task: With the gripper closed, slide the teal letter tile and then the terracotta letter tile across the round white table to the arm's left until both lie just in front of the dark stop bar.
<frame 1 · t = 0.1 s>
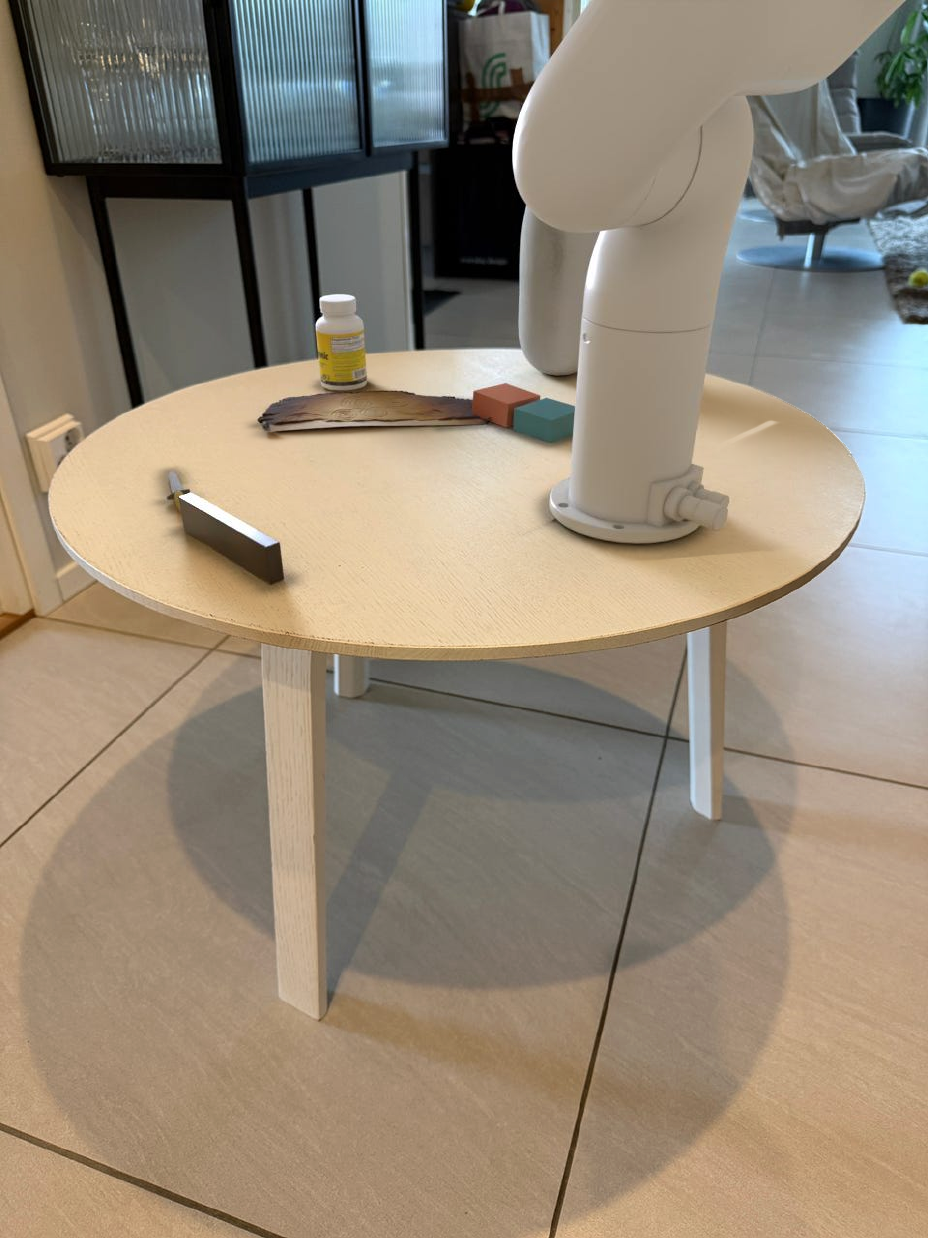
dagger: (177, 495, 75), on the table
supplement bottle: (344, 386, 102), on the table
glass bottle: (557, 374, 107), on the table
tile a: (547, 432, 89), on the table
tile b: (504, 416, 92), on the table, touching parchment
stop bar: (231, 554, 65), on the table
parchment: (378, 415, 93), on the table, touching tile b
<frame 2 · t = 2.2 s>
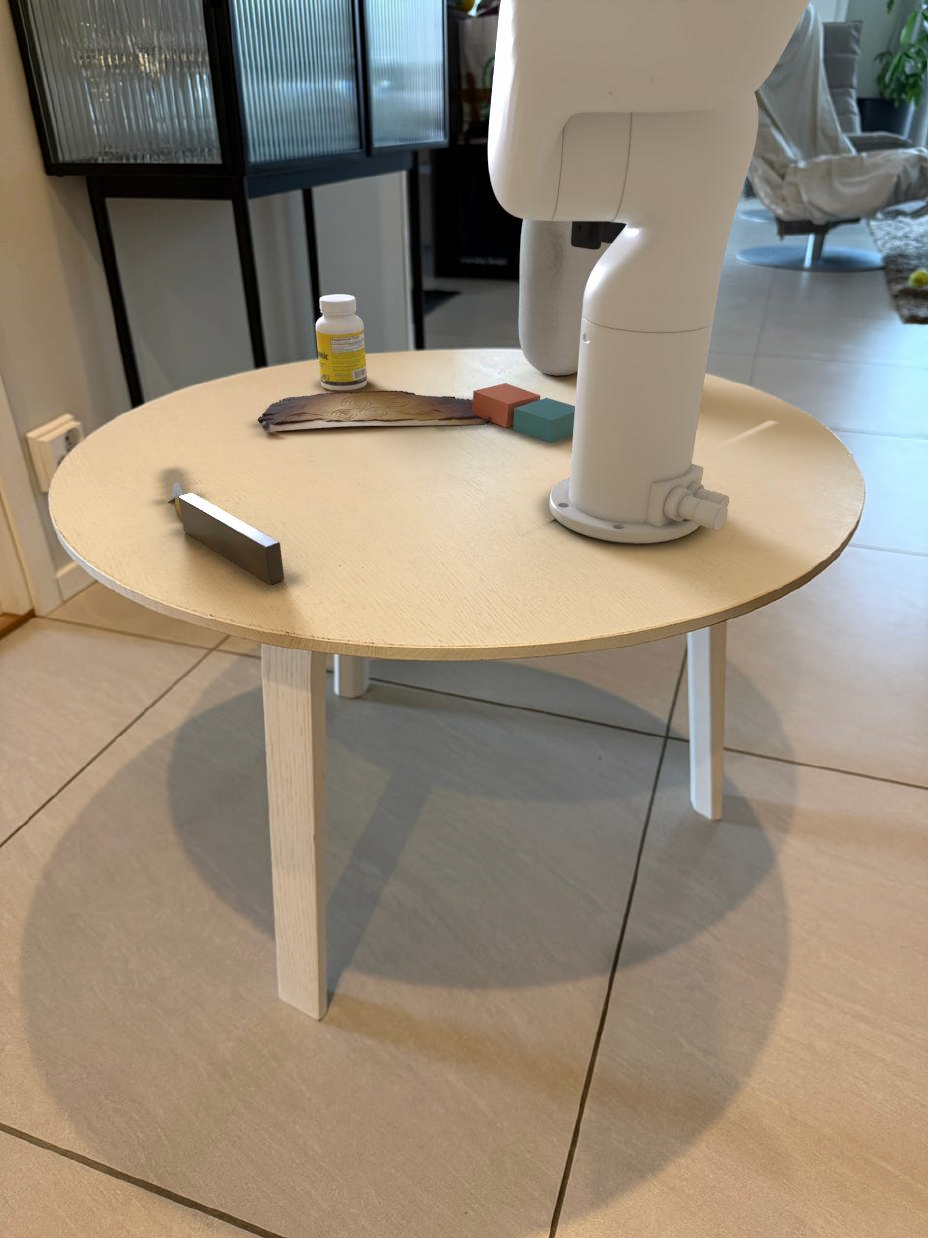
hand: (599, 243, 83), 17 cm above the table, tool pointing down, fingers open, 3 cm apart
nothing on the table moved.
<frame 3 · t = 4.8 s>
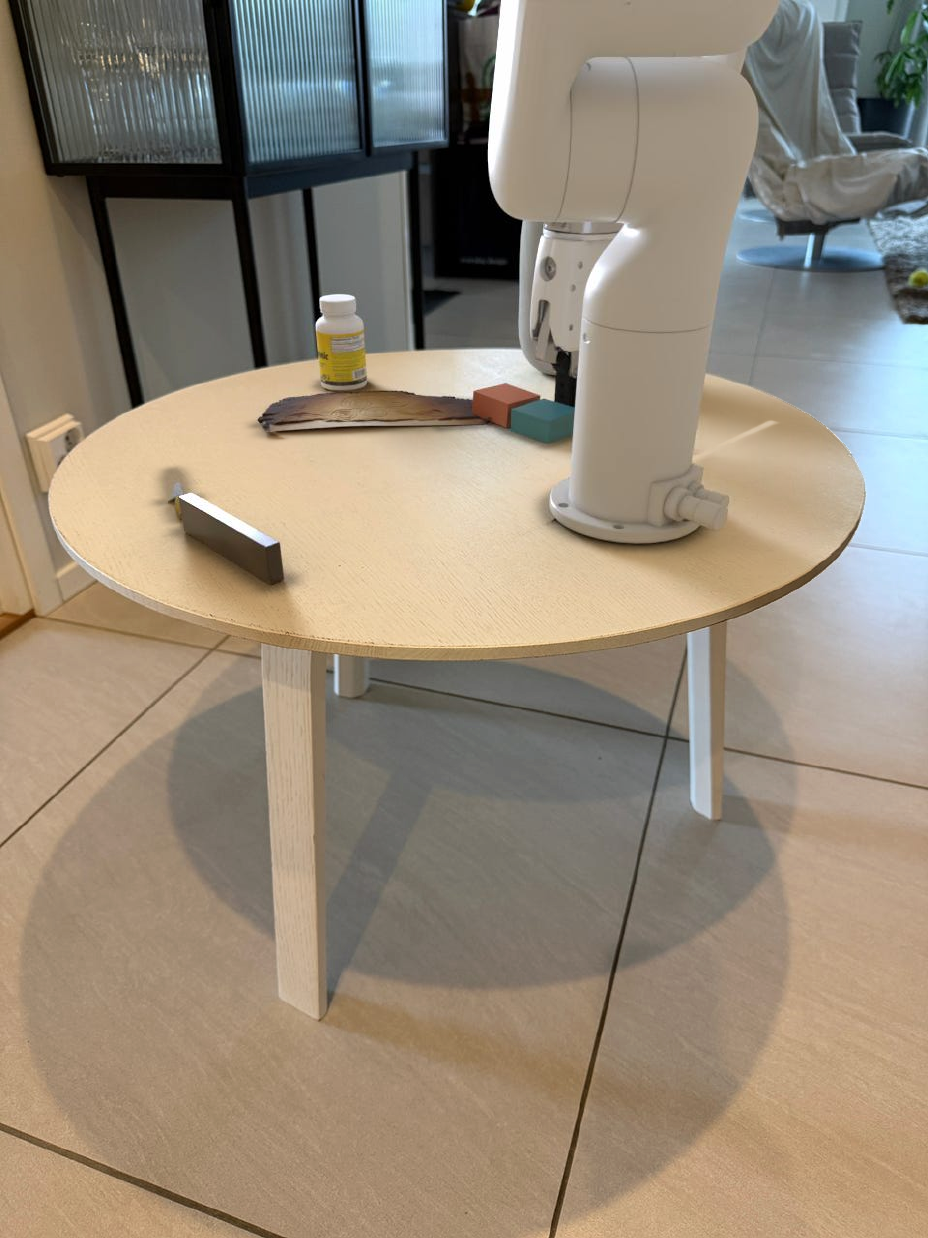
hand: (570, 410, 90), 1 cm above the table, tool pointing down, fingers closed
tile a: (545, 433, 88), on the table, touching gripper
everything else where it was.
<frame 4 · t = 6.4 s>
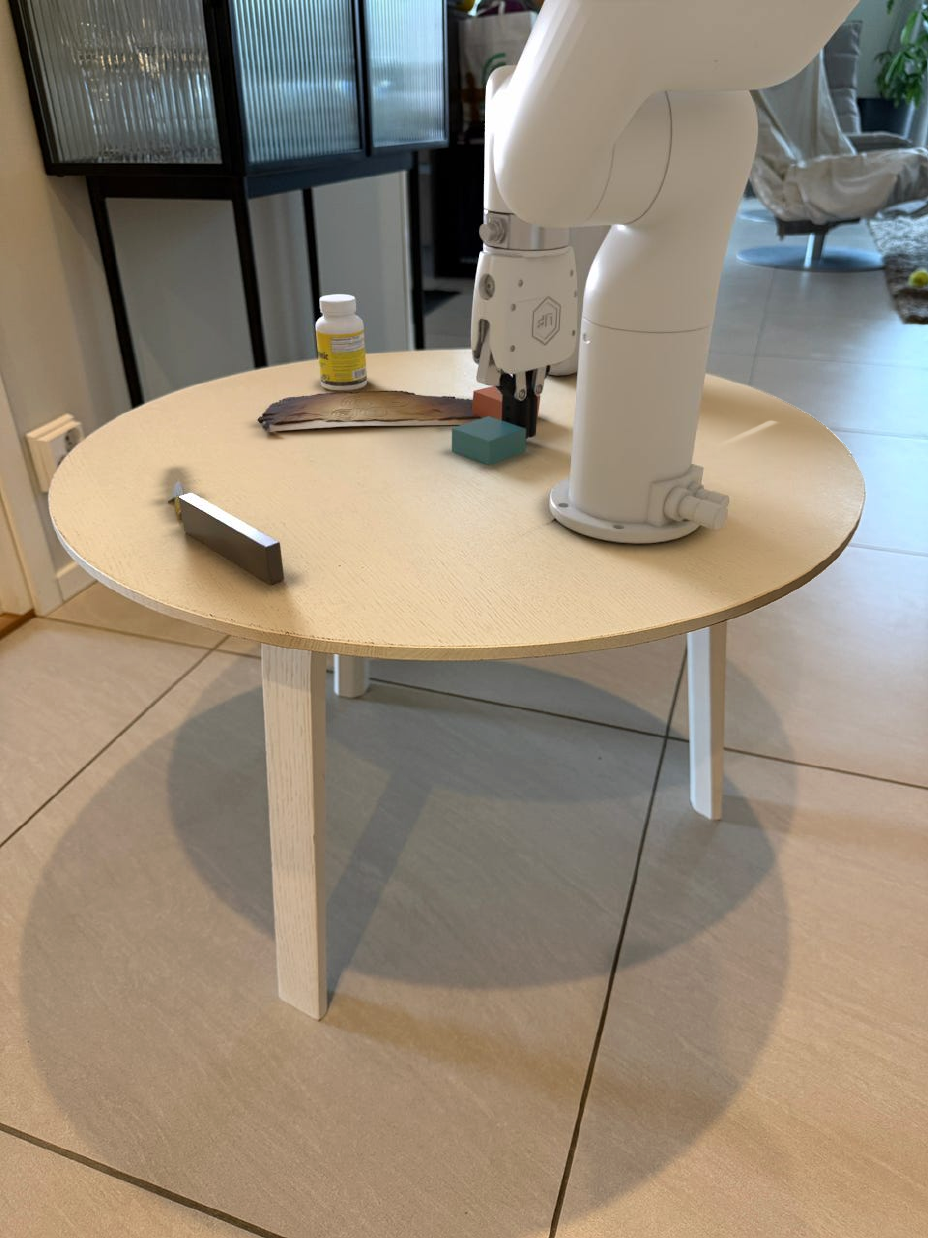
hand: (518, 434, 86), 1 cm above the table, tool pointing down, fingers closed
tile a: (488, 453, 83), on the table, touching gripper
everything else where it was.
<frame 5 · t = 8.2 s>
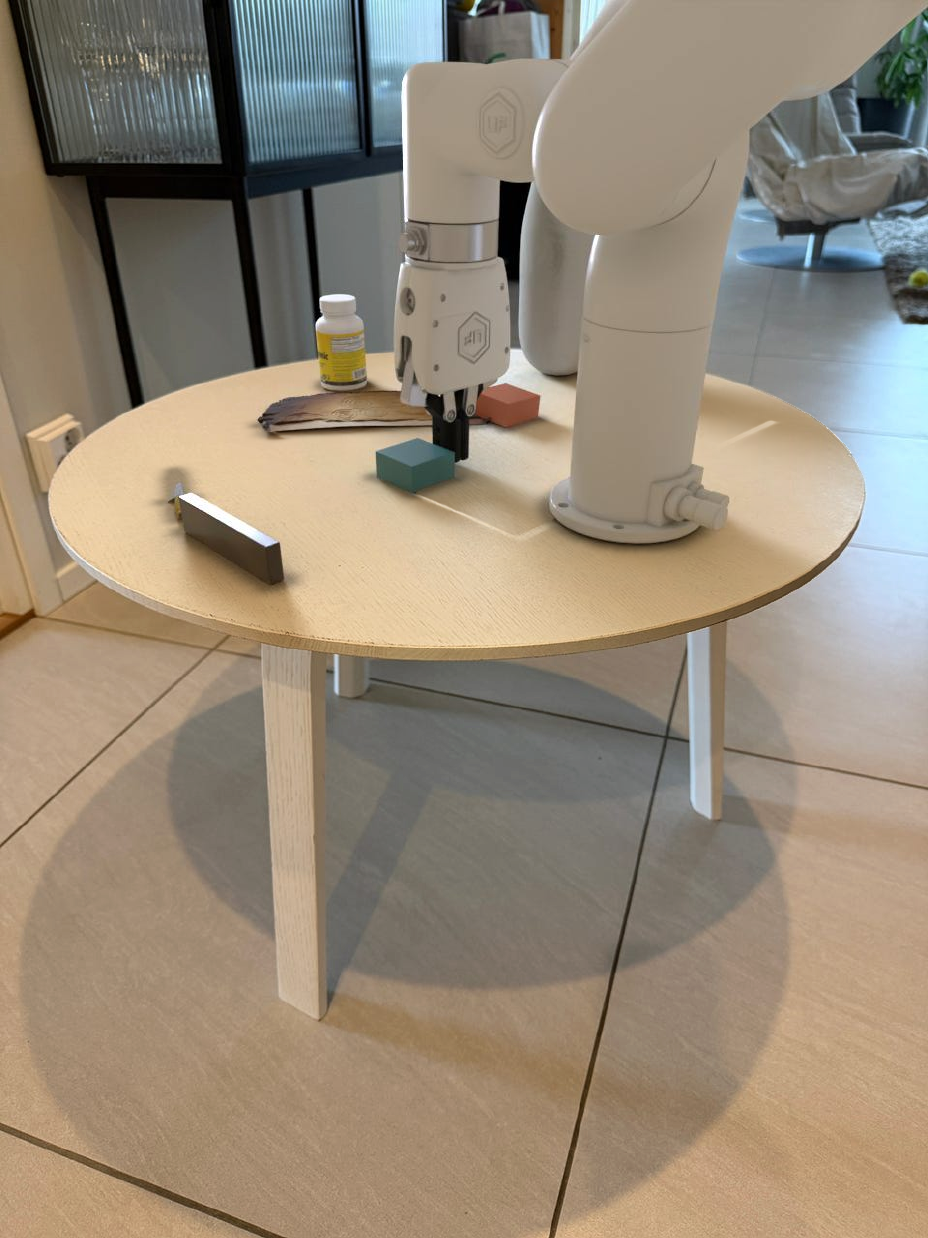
hand: (450, 456, 80), 1 cm above the table, tool pointing down, fingers closed
tile a: (415, 477, 78), on the table, touching gripper
everything else where it was.
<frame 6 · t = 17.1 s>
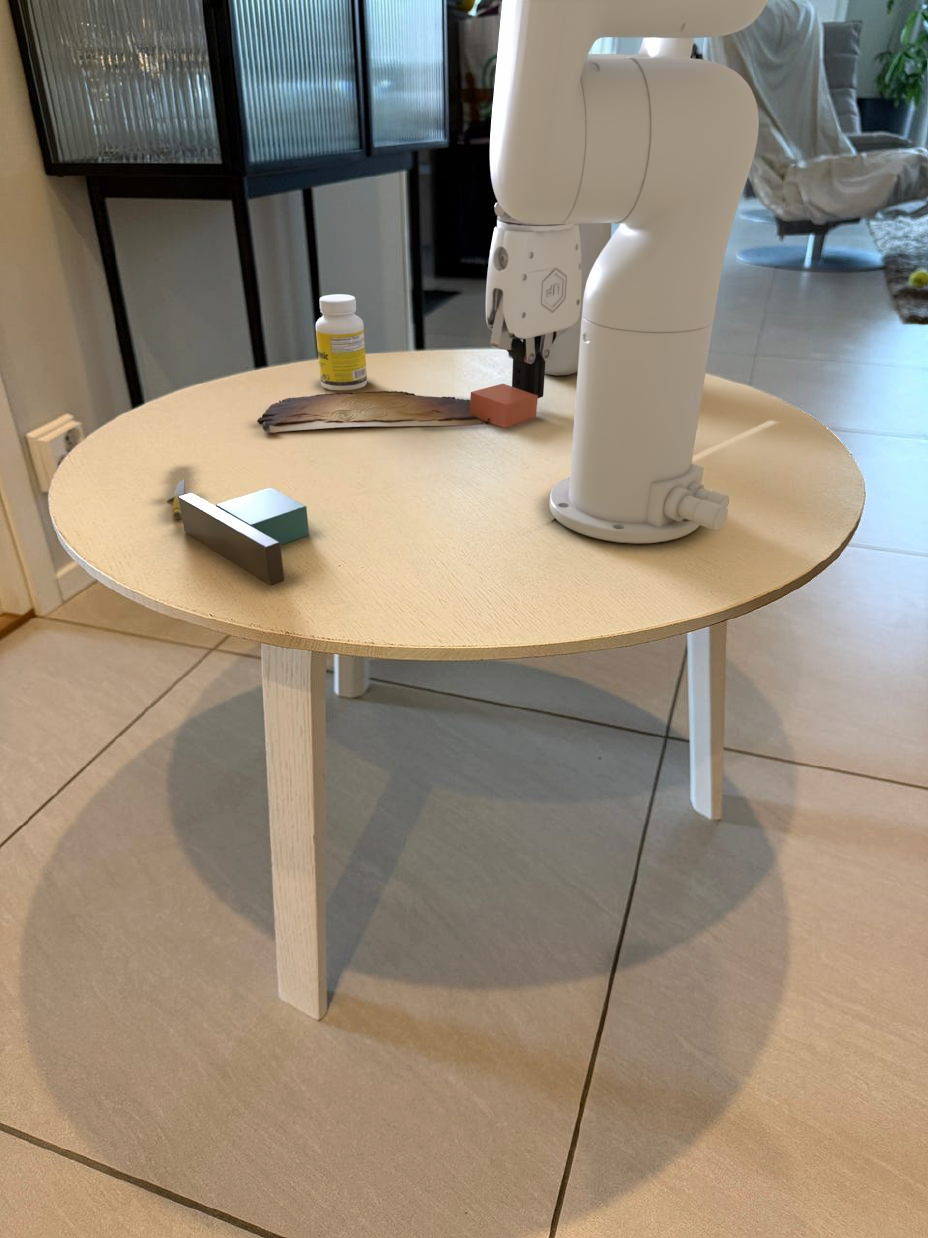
hand: (527, 395, 94), 1 cm above the table, tool pointing down, fingers closed
tile a: (264, 534, 68), on the table
tile b: (502, 416, 92), on the table, touching gripper, parchment
everything else where it was.
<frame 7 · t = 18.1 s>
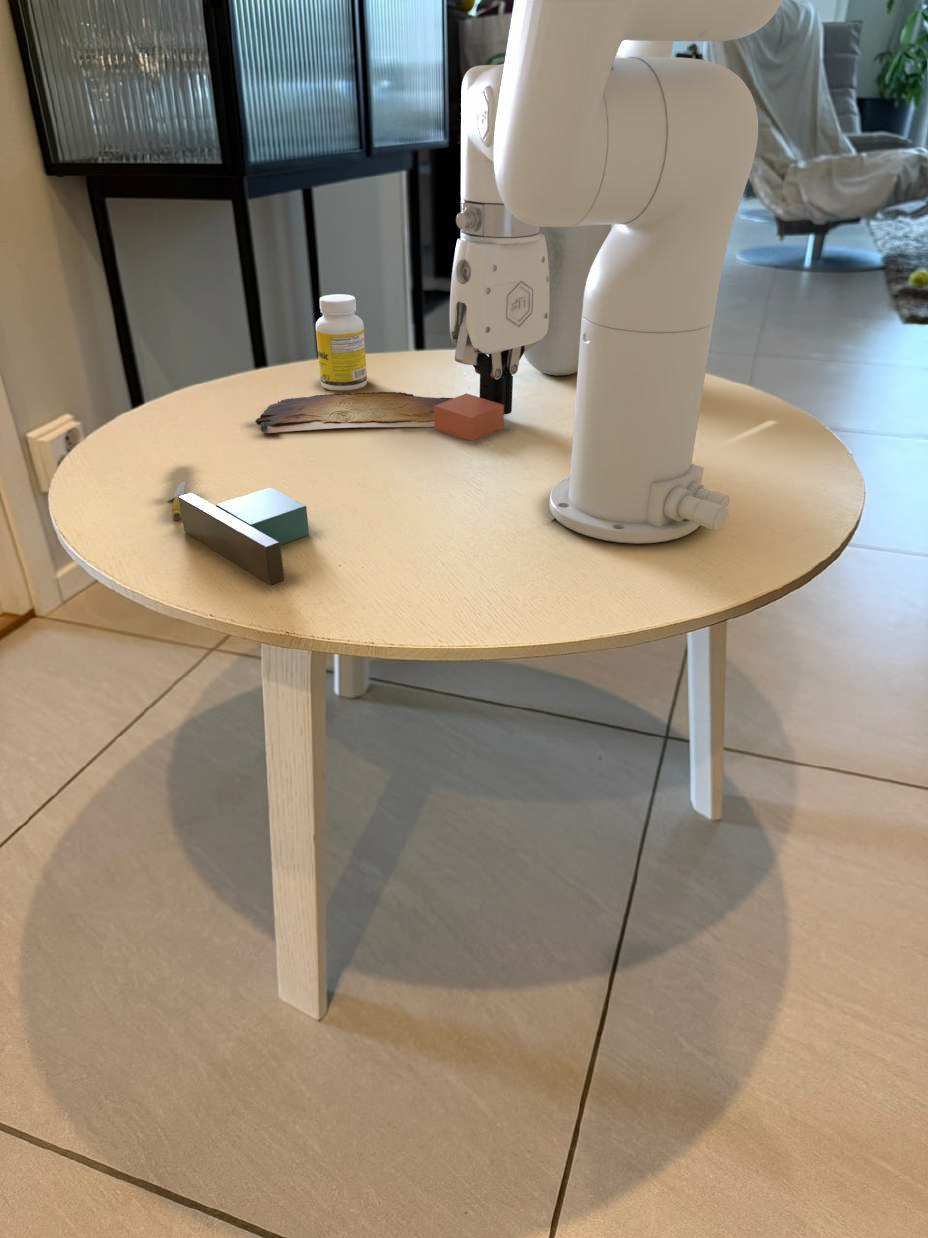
hand: (495, 411, 91), 1 cm above the table, tool pointing down, fingers closed
tile b: (468, 428, 89), on the table, touching gripper, parchment
everything else where it was.
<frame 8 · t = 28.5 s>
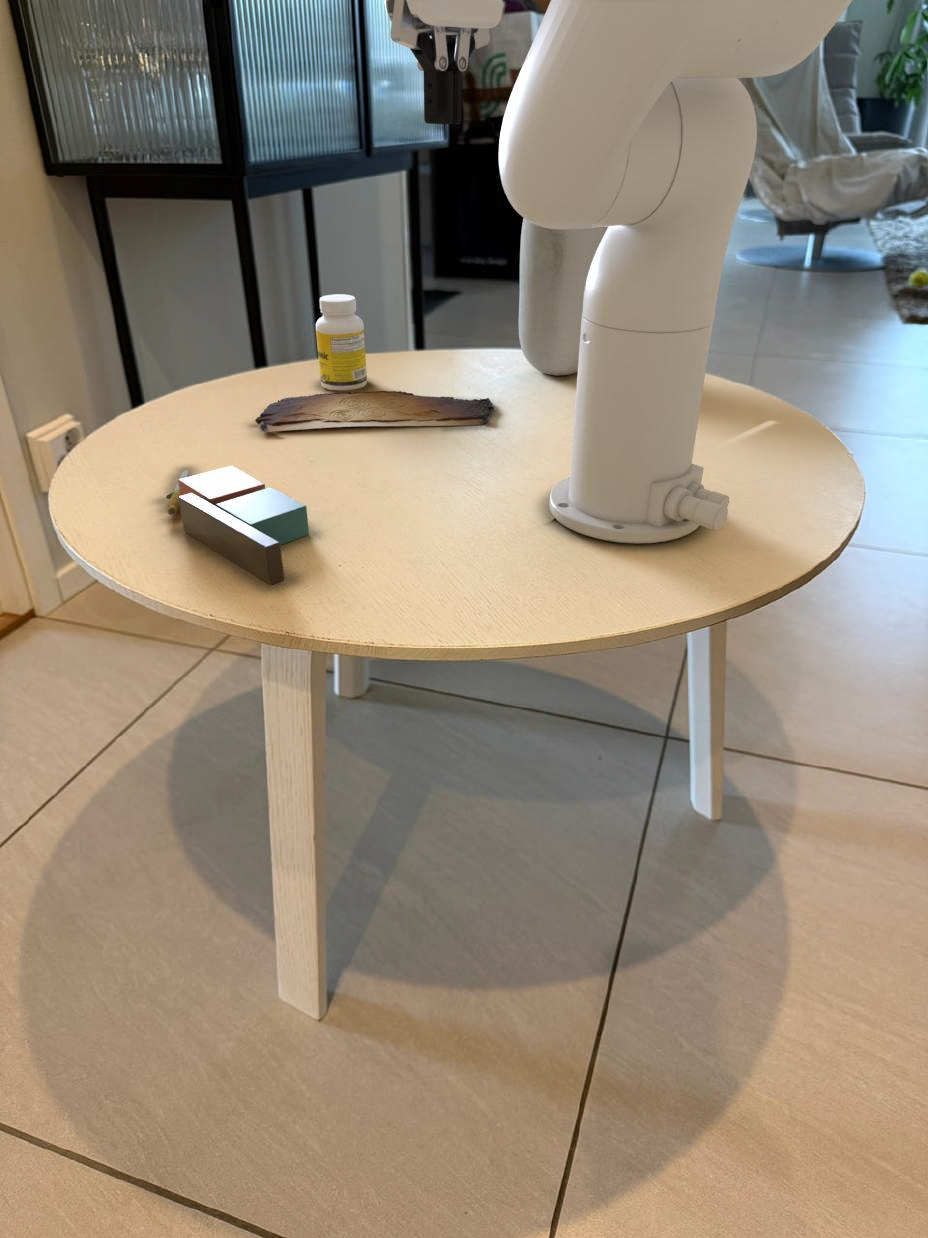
hand: (442, 122, 79), 27 cm above the table, tool pointing down, fingers closed
dagger: (180, 494, 75), on the table, touching tile b
tile b: (224, 509, 72), on the table, touching dagger
parchment: (376, 415, 93), on the table
everything else where it was.
at the end: tile a inside the target area on the table beside the stop bar (2.4 cm from its centre), on the table; tile b inside the target area on the table beside the stop bar (2.3 cm from its centre), on the table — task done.
